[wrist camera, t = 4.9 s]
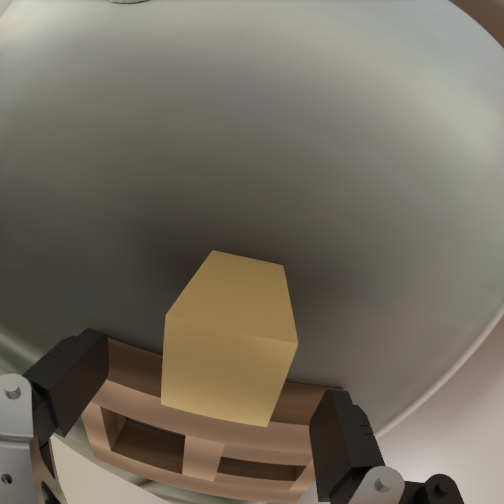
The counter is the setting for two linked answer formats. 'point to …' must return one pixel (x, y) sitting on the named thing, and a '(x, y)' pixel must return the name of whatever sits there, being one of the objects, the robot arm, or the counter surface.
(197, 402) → the square peg
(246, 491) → the socket block
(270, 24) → the counter surface
